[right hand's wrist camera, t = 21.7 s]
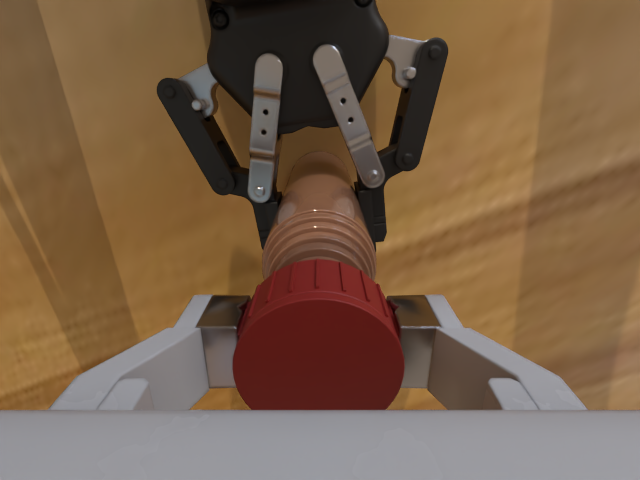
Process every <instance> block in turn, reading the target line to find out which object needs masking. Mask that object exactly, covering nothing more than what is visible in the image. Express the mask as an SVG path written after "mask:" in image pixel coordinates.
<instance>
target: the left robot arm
mask: <svg viewBox="0 0 640 480" xmlns="http://www.w3.org/2000/svg"><path fill="white" fill-rule="evenodd" d="M205 3H206V7H207V12H208V16H209V21H210V26H211V41H210V46H209V49H208V54H207V64H205V65H203V66H201V67H199V68H197V69H196V70H194V71H192V72H190V73H188V74H186V75H185V76H183V77H181V78H179V79H173V78H165V79H162V80H161V81H160V82H159V83H158V86H157V94H158V97H159V99H160V100H161V102H162V104H163V105H164V107H165V109H166V111H167V112H168V114H169V116H170V117H171V119H172V121H173V123H174V124H175V126H176V128H177V129H178V131H179V133H180V134H181V136H182V138H183V140H184V141H185V143H186V145H187V146H188V148H189V150H190V152H191V153H192V155H193V157H194V158H195V160H196V162H197V163H198V165H199V167H200V169H201V170H202V172H203V174H204V175H205V177H206V179H207V181H208V182H209V184H210V186H211V187H212V189H213V190H214V191H215V192H216V193H217V194H219V195H228V194H233V195H238V196H242V197H245V198H246V199H248V200H249V201H250V202H251V204H252V205H253V208H254V213H255V218H256V222H257V227H258V231H259V236H260V241H261V246H262V249H263V250H264V246H265V243H266V241H267V238H268V235H269V232H270V230H271V227H272V224H273V221H274V219H275V216H276V213H277V210H278V208H279V205H280V202H281V199H282V192H277V188H276V182H277V173H278V165H279V156H280V150H281V145H282V136H283V134H287V133H293V132H295V131H297V130H300V129H302V128H304V127H307V126H312V127H319V128H329V127H336V126H338V127H339V129H340V131H341V134H342V136H343V138H344V141H345V143H346V145H347V148H348V150H349V153H350V155H351V157H352V160H353V162H354V165H355V167H356V169H357V180H358V182H354V187H355V193H356V196H357V199H358V202H359V205H360V208H361V210H362V213H363V216H364V219H365V222H366V225H367V228H368V230H369V233H370V236H371V239H372V242H373V245H374V248H375V252H376V243H375V242H381V241H384V239H385V236H386V233H387V230H386V217H385V203H384V185H385V183H386V182H387V180H388V179H389V178H390V177H392V176H394V175H396V174H398V173H400V172H402V171H411V170H413V169H415V168H416V167H417V165H418V164H419V161H420V158H421V154H422V150H423V146H424V143H425V139H426V135H427V131H428V127H429V124H430V120H431V116H432V112H433V109H434V105H435V101H436V97H437V93H438V90H439V86H440V82H441V78H442V74H443V71H444V67H445V63H446V59H447V55H448V47H447V44H446V42H445V41H444V40H442V39H441V38H432V39H429V40H426V41H419V40H414V39H409V38H404V37H398V36H393V35H389V32H388V29H387V26H386V24H385V23H384V21H383V20H382V18H381V16H380V14H379V12H378V9H377V6H376V2H375V0H205ZM383 59H385V60H387V61H388V62H389V63H390V65H391V67H392V80H393V83H394V84H395V85H396V86H397V87H399V88H402V90H401V94H400V98H399V103H398V107H397V112H396V116H395V120H394V125H393V129H392V133H391V138H390V142H389V146H388V147H386V148H384V149H382V150H381V151H379V152H376V149H375V146H374V144H373V141H372V137H371V134H370V131H369V129H368V126H367V124H366V121H365V118H364V116H363V113H362V111H361V108H360V106H359V103H360V101H361V100H362V98H363V96H364V94H365V92H366V90H367V88H368V87H369V85H370V83H371V81H372V79H373V77H374V75H375V74H376V72H377V70H378V68H379V66H380V64H381V62H382V61H383ZM219 84H220V85H221V86H222V87H223V88H224V89H225V90H226V91H227V92H228V93H229V94H230V95H231V97H232V98H233V99H234V100H235V101H236V102H237V103H238V104H239V105H240V106H241V107H242V108H243V109H244V110H245V111H246V112H247V113H248V114H249V115H250V116H251V117H252V124H251V136H250V148H249V153H250V169H247V168H242V167H240V165H239V163H238V161H237V159H236V157H235V155H234V154H233V152H232V150H231V148H230V146H229V144H228V143H227V141H226V139H225V137H224V135H223V133H222V132H221V130H220V128H219V126H218V124H217V122H216V121H215V119H214V117H213V115H214V114H215V113H216V112H217V110H218V101H217V98H216V89H217V87H218V85H219Z"/></svg>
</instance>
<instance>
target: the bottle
mask: <svg viewBox="0 0 640 480" xmlns="http://www.w3.org/2000/svg"><path fill="white" fill-rule="evenodd" d="M313 259H324V260H333V261H337V262H340V261H341V262H343V263H344V264H347V265H350V266H352V267H354V268H356V269H358V270H360V271H361V270H362V271H364V274H366V275H367V276H368V277H370V278H371V279H372V280H373V281H374V279H375V275H376V252H375V248H374V245H373V242H372V239H371V236H370V233H369V230H368V228H367V225H366V222H365V219H364V216H363V213H362V210H361V208H360V205H359V202H358V199H357V196H356V193H355V190H354V187H353V185H352V182H351V179H350V176H349V173H348V170H347V168H346V166H345V164H344V163H343V162H342V161H341V160H340V159H339V158H338V157H337V156H335V155H333V154H331V153H328V152H323V151H316V152H311V153H308V154H306V155H304V156H303V157H302V158H300V159H299V160H298V161H297V162H296V164H295V165H294V167H293V169H292V172H291V174H290V177H289V180H288V183H287V185H286V188H285V191H284V194H283V196H282V199H281V202H280V205H279V208H278V210H277V213H276V216H275V219H274V221H273V224H272V227H271V230H270V232H269V235H268V238H267V241H266V243H265V246H264V250H263V255H262V272H263V278H264V281H265V280H266V279H267V278H268V277H269V276H270V275H272V272H273V271H277V270H279V269H281V268H283V267H285V266H288V265H290V264H293V262H300V261H305V260H313Z"/></svg>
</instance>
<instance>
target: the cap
mask: <svg viewBox="0 0 640 480" xmlns="http://www.w3.org/2000/svg"><path fill="white" fill-rule="evenodd" d="M398 336H399V331H398V328H397V325H396V322H395V319H394V315H393V312H392V309H391V307H390V304H389V301H386V299H385V296H384V294H383V293H382V291H381V288H380V285H379V284H376V283H375V282H374V281H373V280H372V279H371V278H370V277H368V276H367V275H366V274H364V271H362V270H361V271H360V270H358V269H356V268H354V267H352V266H350V265H347V264H344V263H343V262H341V261H340V262H337V261H333V260H324V259H313V260H305V261H300V262H293V264H290V265H288V266H285V267H283V268H281V269H279V270H277V271H273V272H272V275H270V276H269V277H268V278H267V279H266V280H265V281H264V282H263V283H262V284H261V285H258V286H257V288H256V291H255V294H254V295H253V297H252V300H251V302H249V303H248V306H247V309H246V310H245V313H244V316H243V321H242V324H241V327H240V330H239V332H238V338H239V339H238V341H237V344H236V347H235V351H234V355H233V362H232V370H233V378H234V381H235V384H236V387H237V389H238V391H239V394H240V395H241V397H242V398H243V400H244V401H245V403H246V404H247V405H248V406H249V407H250V408H251V409H252V410H385V409H387V408H388V406H389V405H390V404H391V403H392V402H393V400H394V399H395V397H396V395H397V394H398V392H399V390H400V387H401V385H402V381H403V377H404V369H405V363H404V355H403V351H402V347H401V344H400V341H399V338H398Z"/></svg>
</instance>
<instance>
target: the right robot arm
mask: <svg viewBox="0 0 640 480" xmlns="http://www.w3.org/2000/svg"><path fill="white" fill-rule="evenodd" d="M386 301H389V304H390V307H391V309H392V312H393V315H394V319H395V322H396V325H397V328H398V331H399V336H398V338H399V341H400V344H401V347H402V351H403V355H404V363H405V369H404V377H403V381H402V385H401V387H400V388H428V391H429V392H430V393H431V394H432V395H433V396H434V397H435V398H436V399H437V400H439V401H440V402H441V403H442V404H443V405H444V406H445V407H446V408H447V409H448V410H189V409H190V408H191V407H192V406H193V405H194V404H196V403H197V402H198V401H199V400H200V399H201V398H202V397H203V396H204V395H205V394H206V393H207V392H208V391H209V388H237V387H236V384H235V381H234V378H233V370H232V362H233V355H234V351H235V347H236V344H237V341H238V339H239V338H238V332H239V330H240V327H241V324H242V321H243V316H244V313H245V310H246V309H247V306H248V303H249V302H251V298H250V296H249V295H194V296H193V297H192V299H191V300H190V302H189V303H188V305H187V307H186V308H185V310H184V311H183V313H182V314H181V316H180V318H179V319H178V321H177V322H176V324H175V325H174V327H173V328H166V329H164V330H162V331H161V332H159V333H157V334H155V335H153V336H151V337H149V338H148V339H146V340H144V341H142V342H140V343H138V344H136V345H134V346H133V347H131V348H129V349H127V350H125V351H123V352H121V353H119V354H118V355H116V356H114V357H112V358H110V359H108V360H106V361H104V362H103V363H101V364H99V365H97V366H95V367H93V368H91V369H90V370H88V371H86V372H84V373H82V374H80V375H78V376H77V377H76V378H75V379H74V380H73V381H72V382H71V383H70V385H69V386H68V387H67V388H66V389H65V390H64V391H63V393H62V394H61V395H60V396H59V397H58V398H57V400H56V401H55V402H54V403H53V404H52V405H51V406H50V408H49V409H48V410H0V480H640V410H588V409H587V408H586V407H585V406H584V404H583V403H582V402H581V401H580V400H579V399H578V397H577V396H576V395H575V394H574V393H573V392H572V390H571V389H570V388H569V387H568V386H567V384H566V383H565V382H564V381H563V380H562V379H561V377H559V376H557V375H556V374H554V373H552V372H550V371H548V370H546V369H545V368H543V367H541V366H539V365H537V364H535V363H533V362H532V361H530V360H528V359H526V358H524V357H522V356H520V355H519V354H517V353H515V352H513V351H511V350H509V349H508V348H506V347H504V346H502V345H500V344H498V343H496V342H495V341H493V340H491V339H489V338H487V337H485V336H484V335H482V334H480V333H478V332H476V331H474V330H472V329H471V328H464V327H463V326H462V324H461V323H460V321H459V319H458V318H457V316H456V315H455V313H454V311H453V310H452V308H451V307H450V305H449V304H448V302H447V300H446V299H445V297H444V296H443V295H441V294H438V295H402V296H387V299H386Z"/></svg>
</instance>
